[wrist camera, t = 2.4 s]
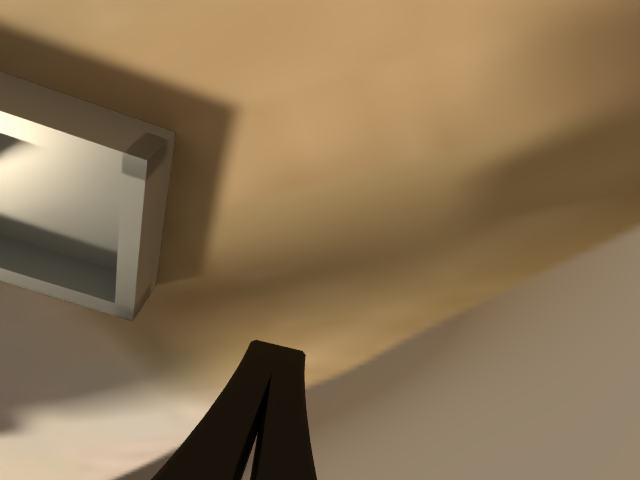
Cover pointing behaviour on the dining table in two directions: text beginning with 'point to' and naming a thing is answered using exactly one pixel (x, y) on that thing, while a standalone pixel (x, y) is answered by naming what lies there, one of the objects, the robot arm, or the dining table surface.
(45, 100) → the tray
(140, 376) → the dining table surface
